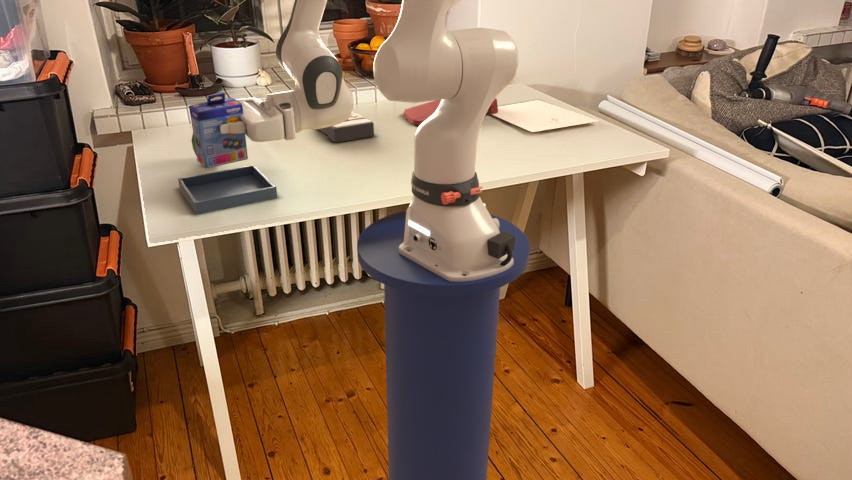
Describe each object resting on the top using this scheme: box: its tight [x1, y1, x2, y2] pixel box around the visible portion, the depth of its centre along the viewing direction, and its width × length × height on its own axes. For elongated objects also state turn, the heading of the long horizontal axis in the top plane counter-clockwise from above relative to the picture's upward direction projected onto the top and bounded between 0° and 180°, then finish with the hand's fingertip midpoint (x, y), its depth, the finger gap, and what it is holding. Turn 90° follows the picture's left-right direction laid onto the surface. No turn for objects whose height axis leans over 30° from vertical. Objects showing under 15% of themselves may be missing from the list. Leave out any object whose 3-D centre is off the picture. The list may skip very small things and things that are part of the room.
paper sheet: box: [486, 99, 600, 133], centre depth 194 cm, size 24×29×1 cm
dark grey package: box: [318, 110, 375, 143], centre depth 185 cm, size 11×4×15 cm
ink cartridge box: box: [188, 92, 249, 169], centre depth 143 cm, size 10×6×14 cm, turn 124°
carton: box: [403, 97, 499, 127], centre depth 196 cm, size 12×5×25 cm
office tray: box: [177, 164, 278, 215], centre depth 150 cm, size 15×17×2 cm
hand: (215, 124), depth 143 cm, fingers closed on ink cartridge box, 5 cm apart
